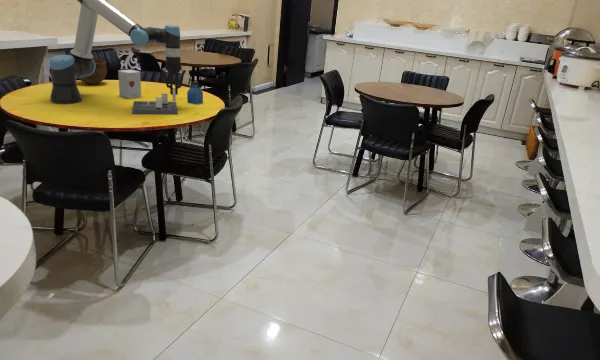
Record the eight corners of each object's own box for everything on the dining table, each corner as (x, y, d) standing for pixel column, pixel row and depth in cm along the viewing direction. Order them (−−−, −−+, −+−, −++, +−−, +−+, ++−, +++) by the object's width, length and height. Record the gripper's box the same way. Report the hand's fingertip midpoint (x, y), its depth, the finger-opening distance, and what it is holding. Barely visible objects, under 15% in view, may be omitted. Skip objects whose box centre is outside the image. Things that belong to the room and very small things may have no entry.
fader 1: (155, 107, 235) (155, 99, 234) (156, 105, 240) (155, 97, 238) (162, 107, 236) (161, 99, 235) (162, 105, 241) (161, 97, 239)
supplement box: (128, 99, 262) (126, 72, 256) (119, 96, 266) (117, 70, 261) (142, 97, 269) (140, 71, 263) (132, 94, 273) (131, 69, 268)
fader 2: (161, 103, 245) (161, 95, 244) (161, 101, 250) (161, 93, 248) (167, 103, 246) (167, 95, 244) (167, 101, 250) (167, 93, 249)
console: (132, 113, 232) (132, 109, 231) (134, 105, 248) (133, 100, 247) (177, 114, 238) (177, 109, 237) (176, 105, 255) (175, 101, 254)
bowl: (101, 87, 285) (99, 63, 279) (70, 85, 284) (68, 61, 279) (113, 82, 302) (111, 59, 297) (84, 80, 302) (82, 57, 296)
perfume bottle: (195, 104, 261) (195, 83, 257) (187, 102, 264) (187, 81, 260) (202, 103, 266) (202, 82, 262) (195, 101, 269) (194, 80, 265)
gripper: (160, 56, 235) (161, 101, 244) (186, 57, 239) (186, 102, 247) (160, 54, 242) (161, 98, 250) (185, 55, 245) (186, 99, 254)
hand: (174, 100), depth 249 cm, fingers closed
